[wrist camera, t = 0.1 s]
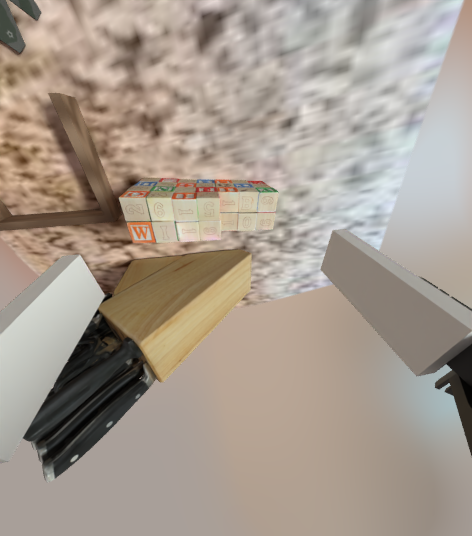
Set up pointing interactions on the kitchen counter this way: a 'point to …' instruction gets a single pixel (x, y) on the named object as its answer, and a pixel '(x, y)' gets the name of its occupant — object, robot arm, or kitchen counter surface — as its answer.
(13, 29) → the fighter jet
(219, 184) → the stack of blocks
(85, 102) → the kitchen counter surface
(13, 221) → the brown wooden bracket
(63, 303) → the robot arm
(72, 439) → the knife block
